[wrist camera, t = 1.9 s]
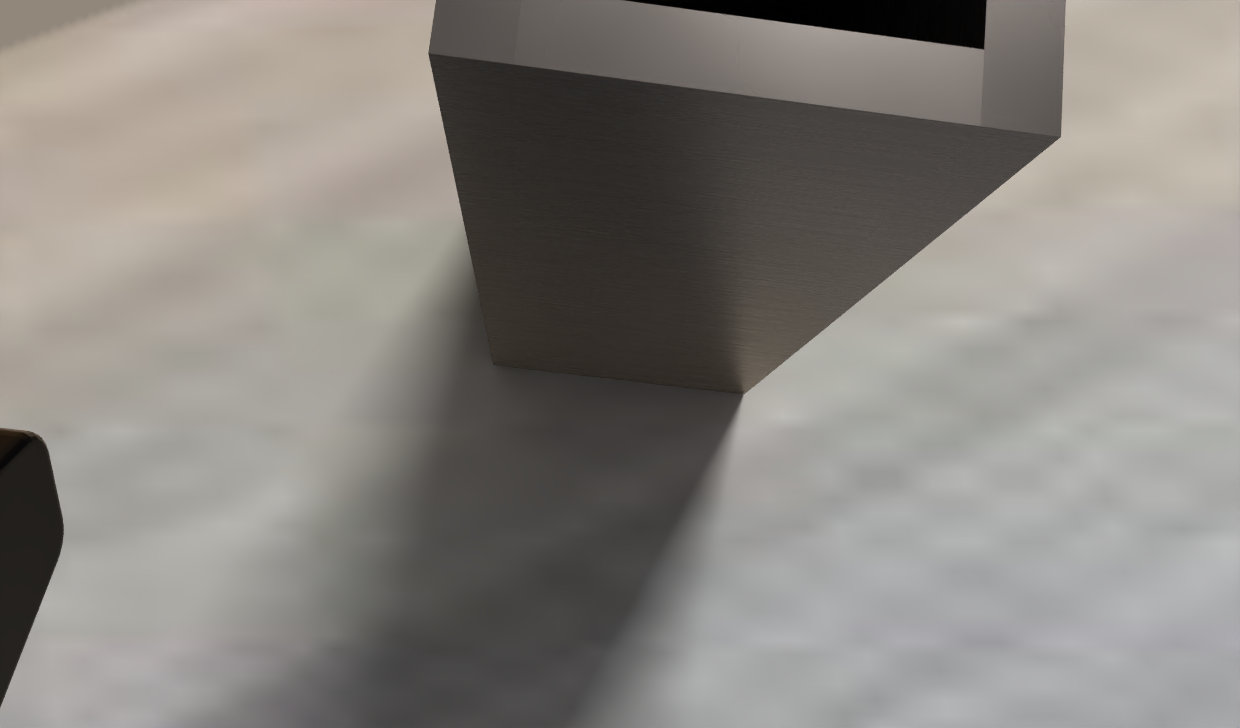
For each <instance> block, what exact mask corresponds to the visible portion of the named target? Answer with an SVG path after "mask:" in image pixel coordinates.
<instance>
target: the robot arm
mask: <svg viewBox="0 0 1240 728" xmlns="http://www.w3.org/2000/svg"><path fill="white" fill-rule="evenodd" d="M63 535H64V525H63V517H62V513H61V508H60V503H59V498H58V494H57V489H56V484H55V480H54V475H53V470H52V465H51V461H50V456H49V452H48V449H47V446H46V444H45V442H44V441H43V439H42V438H41V437H40V436H39V435H37V434H35V433H33V432H30V431H24V430H15V429H6V428H0V707H1V704H2V702H3V699H4V697H5V694H6V692H7V689H8V686H9V684H10V681H11V679H12V676H13V674H14V671H15V669H16V666H17V663H18V661H19V658H20V656H21V653H22V651H23V648H24V646H25V643H26V640H27V638H28V635H29V633H30V630H31V628H32V625H33V622H34V620H35V617H36V615H37V612H38V610H39V607H40V605H41V602H42V599H43V597H44V594H45V592H46V589H47V587H48V584H49V582H50V579H51V576H52V574H53V571H54V569H55V566H56V564H57V561H58V558H59V555H60V552H61V548H62V543H63Z"/></svg>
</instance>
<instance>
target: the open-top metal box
mask: <svg viewBox="0 0 1240 728" xmlns="http://www.w3.org/2000/svg"><path fill="white" fill-rule="evenodd" d="M1065 4H1066V0H436V5H435V12H434V19H433V26H432V32H431V39H430V46H429V53H428V54H429V58H430V63H431V68H432V73H433V77H434V82H435V87H436V92H437V97H438V101H439V106H440V111H441V116H442V121H443V125H444V130H445V135H446V140H447V144H448V149H449V154H450V159H451V164H452V168H453V173H454V178H455V183H456V188H457V192H458V197H459V202H460V207H461V211H462V216H463V221H464V226H465V231H466V235H467V240H468V245H469V250H470V255H471V259H472V264H473V269H474V274H475V278H476V283H477V288H478V293H479V298H480V302H481V307H482V312H483V317H484V322H485V326H486V331H487V336H488V341H489V345H490V350H491V355H492V360H493V365H502V366H510V367H519V368H527V369H536V370H544V371H553V372H561V373H570V374H578V375H587V376H595V377H604V378H612V379H621V380H629V381H638V382H646V383H655V384H663V385H672V386H680V387H689V388H697V389H706V390H714V391H723V392H731V393H740V394H745V393H746V392H748V391H749V390H750V389H751V388H752V387H754V386H755V385H756V384H757V383H759V382H760V381H761V380H762V379H764V378H765V377H766V376H767V375H768V374H770V373H771V372H772V371H773V370H775V369H776V368H777V367H778V366H780V365H781V364H782V363H783V362H784V361H786V360H787V359H788V358H789V357H791V356H792V355H793V354H794V353H796V352H797V351H798V350H799V349H800V348H802V347H803V346H804V345H805V344H807V343H808V342H809V341H810V340H812V339H813V338H814V337H815V336H816V335H818V334H819V333H820V332H821V331H823V330H824V329H825V328H826V327H828V326H829V325H830V324H831V323H832V322H834V321H835V320H836V319H837V318H839V317H840V316H841V315H842V314H844V313H845V312H846V311H847V310H848V309H850V308H851V307H852V306H853V305H855V304H856V303H857V302H858V301H860V300H861V299H862V298H863V297H864V296H866V295H867V294H868V293H869V292H871V291H872V290H873V289H874V288H876V287H877V286H878V285H879V284H880V283H882V282H883V281H884V280H885V279H887V278H888V277H889V276H890V275H892V274H893V273H894V272H895V271H896V270H898V269H899V268H900V267H901V266H903V265H904V264H905V263H906V262H908V261H909V260H910V259H911V258H912V257H914V256H915V255H916V254H917V253H919V252H920V251H921V250H922V249H924V248H925V247H926V246H927V245H928V244H930V243H931V242H932V241H933V240H935V239H936V238H937V237H938V236H940V235H941V234H942V233H943V232H944V231H946V230H947V229H948V228H949V227H951V226H952V225H953V224H954V223H955V222H957V221H958V220H959V219H960V218H962V217H963V216H964V215H965V214H967V213H968V212H969V211H970V210H971V209H973V208H974V207H975V206H976V205H978V204H979V203H980V202H981V201H983V200H984V199H985V198H986V197H987V196H989V195H990V194H991V193H992V192H994V191H995V190H996V189H997V188H999V187H1000V186H1001V185H1002V184H1003V183H1005V182H1006V181H1007V180H1008V179H1010V178H1011V177H1012V176H1013V175H1015V174H1016V173H1017V172H1018V171H1019V170H1021V169H1022V168H1023V167H1024V166H1026V165H1027V164H1028V163H1029V162H1031V161H1032V160H1033V159H1034V158H1035V157H1037V156H1038V155H1039V154H1040V153H1042V152H1043V151H1044V150H1045V149H1047V148H1048V147H1049V146H1050V145H1051V144H1053V143H1054V142H1055V141H1056V140H1058V139H1059V138H1060V137H1061V118H1062V89H1063V61H1064V32H1065Z"/></svg>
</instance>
